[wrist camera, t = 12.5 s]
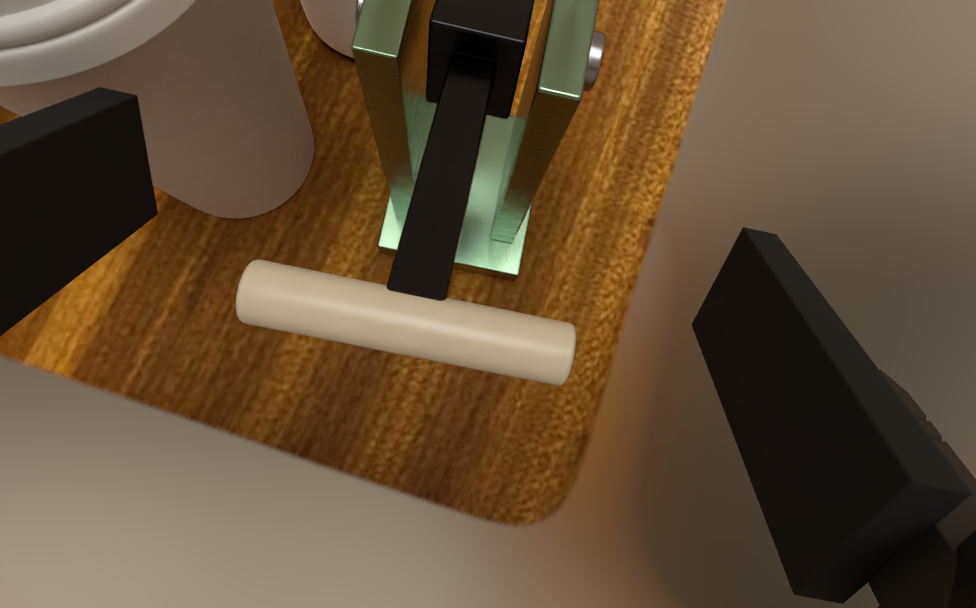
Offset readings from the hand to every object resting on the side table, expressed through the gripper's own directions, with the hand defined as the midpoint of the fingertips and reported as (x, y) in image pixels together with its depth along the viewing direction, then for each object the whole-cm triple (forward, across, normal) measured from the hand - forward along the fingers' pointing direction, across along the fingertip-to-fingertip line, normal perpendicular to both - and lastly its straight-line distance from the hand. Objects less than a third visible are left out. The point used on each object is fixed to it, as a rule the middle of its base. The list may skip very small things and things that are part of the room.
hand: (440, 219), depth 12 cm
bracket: (+12, 0, -5) cm, 13 cm away
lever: (+1, 0, 0) cm, 2 cm away
